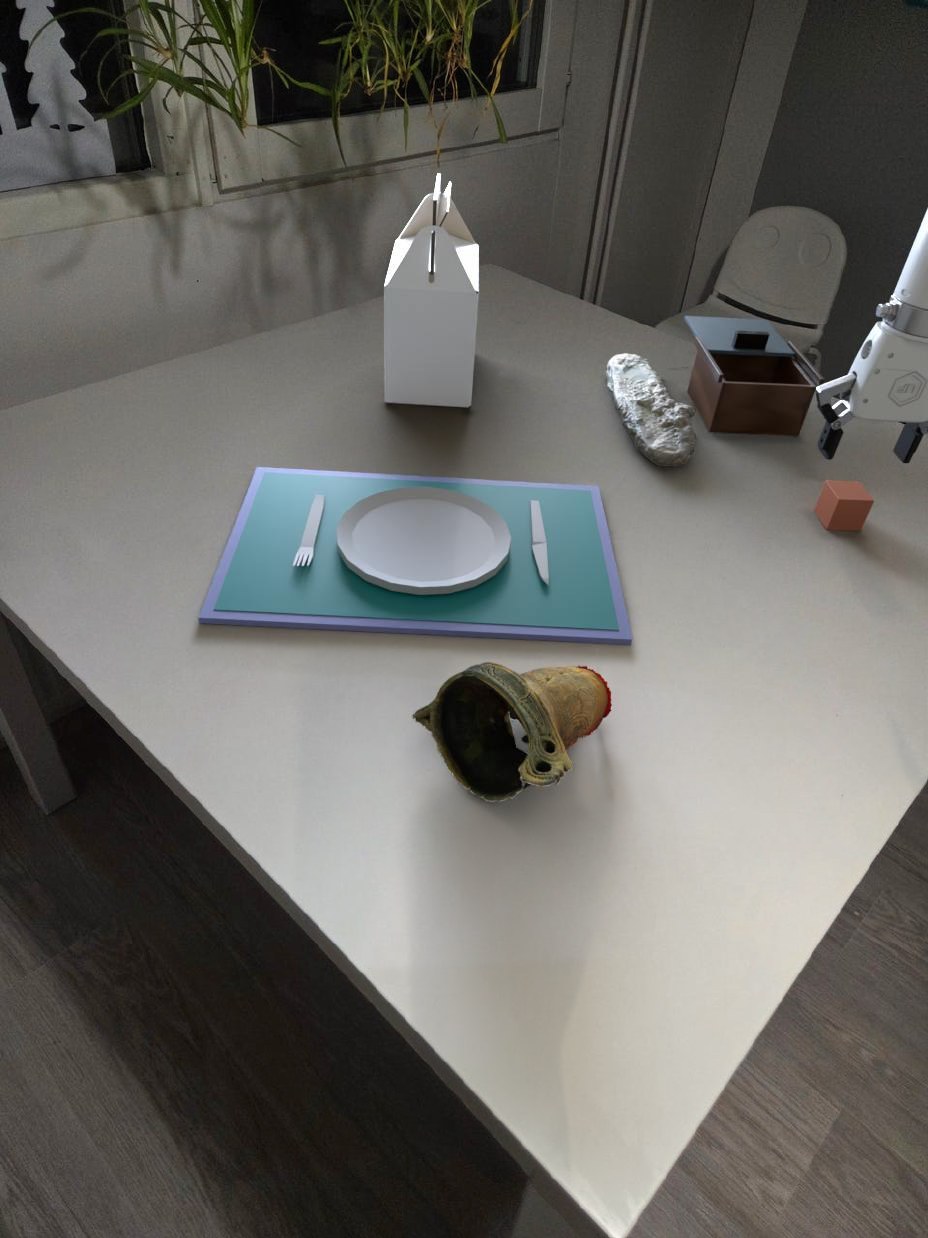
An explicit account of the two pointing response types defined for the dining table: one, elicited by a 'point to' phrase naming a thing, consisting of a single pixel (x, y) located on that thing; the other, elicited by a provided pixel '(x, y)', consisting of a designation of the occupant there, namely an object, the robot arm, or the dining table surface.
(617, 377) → the elongated rock
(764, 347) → the knobbed box lid
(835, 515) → the block
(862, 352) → the robot arm
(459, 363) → the gable box
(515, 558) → the place mat
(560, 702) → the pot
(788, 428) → the brown storage box
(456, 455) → the dining table surface
